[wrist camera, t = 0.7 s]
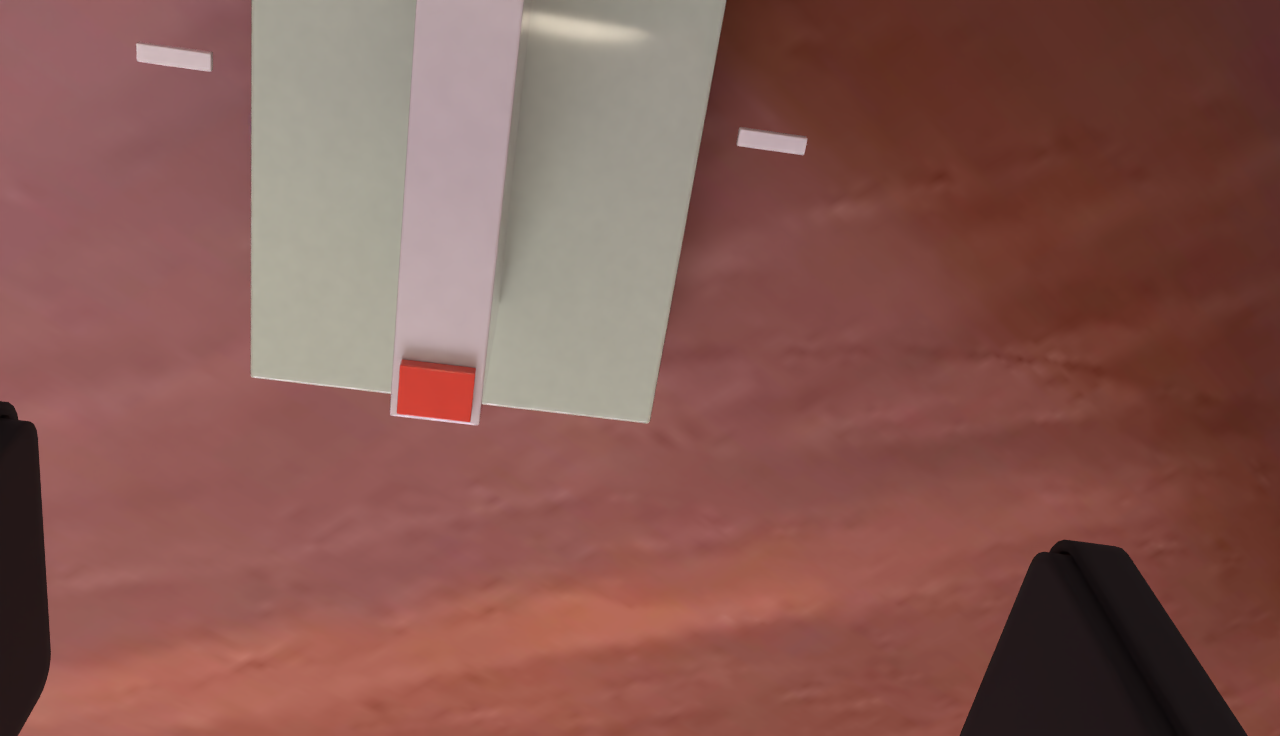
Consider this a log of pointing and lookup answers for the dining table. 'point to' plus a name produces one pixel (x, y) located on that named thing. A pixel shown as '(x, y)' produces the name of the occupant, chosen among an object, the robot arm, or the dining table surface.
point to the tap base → (540, 200)
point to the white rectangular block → (456, 202)
